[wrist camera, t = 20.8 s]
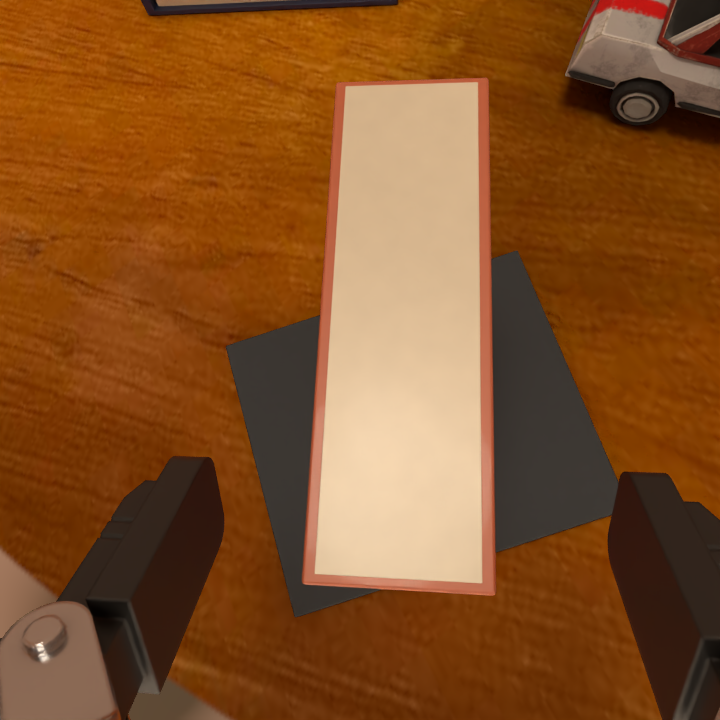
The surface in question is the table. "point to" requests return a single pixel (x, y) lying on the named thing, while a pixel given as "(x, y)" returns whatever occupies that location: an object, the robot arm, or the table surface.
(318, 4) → the hardcover
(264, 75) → the table surface
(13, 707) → the robot arm
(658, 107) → the toy car
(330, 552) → the paperback
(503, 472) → the mat
